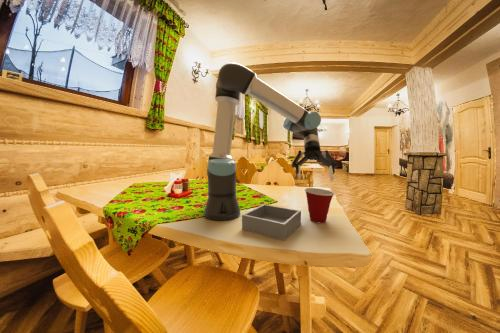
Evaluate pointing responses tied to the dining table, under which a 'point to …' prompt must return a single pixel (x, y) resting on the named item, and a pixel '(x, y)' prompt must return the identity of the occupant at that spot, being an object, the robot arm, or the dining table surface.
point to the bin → (272, 221)
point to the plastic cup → (318, 203)
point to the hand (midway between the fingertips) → (315, 178)
